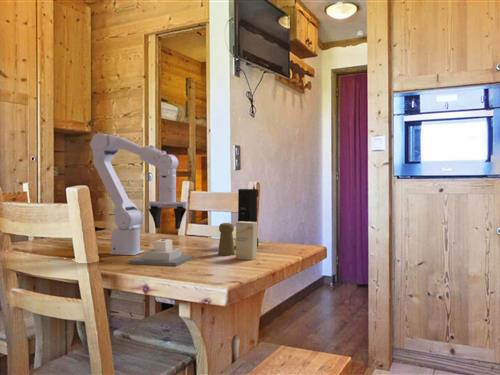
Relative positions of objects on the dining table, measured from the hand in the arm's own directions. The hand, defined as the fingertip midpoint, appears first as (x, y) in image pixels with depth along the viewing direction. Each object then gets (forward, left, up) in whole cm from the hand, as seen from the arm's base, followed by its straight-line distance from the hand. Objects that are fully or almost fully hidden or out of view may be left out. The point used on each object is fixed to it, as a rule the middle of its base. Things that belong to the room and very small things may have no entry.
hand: (167, 228), depth 149 cm
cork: (+19, +7, -10) cm, 23 cm away
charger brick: (+3, -10, -8) cm, 13 cm away
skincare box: (+28, +1, -10) cm, 30 cm away
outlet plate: (+3, -10, -9) cm, 14 cm away
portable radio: (+21, +26, -10) cm, 35 cm away
